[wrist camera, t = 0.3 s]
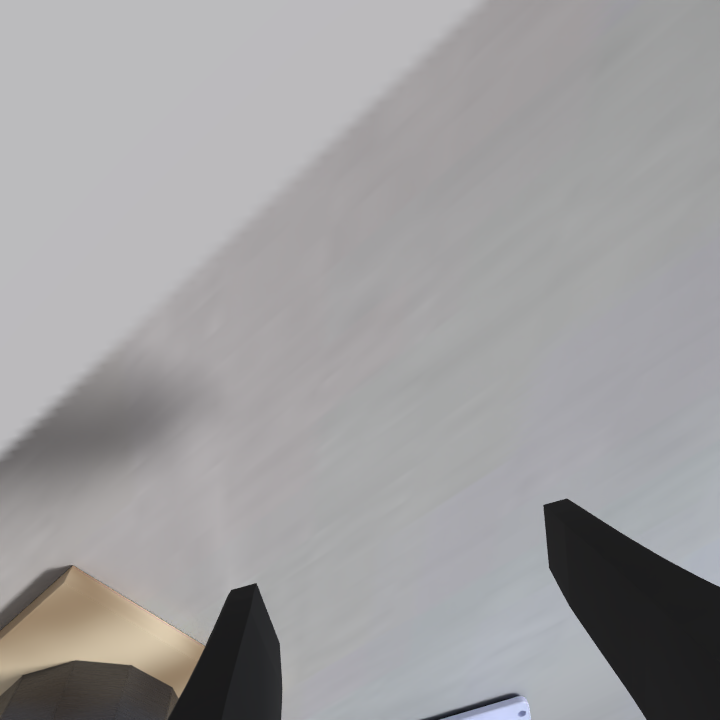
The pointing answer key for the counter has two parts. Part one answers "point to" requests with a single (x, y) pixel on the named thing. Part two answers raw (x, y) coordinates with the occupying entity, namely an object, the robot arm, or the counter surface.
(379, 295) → the counter surface
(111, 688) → the ring
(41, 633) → the square wooden board
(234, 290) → the counter surface
